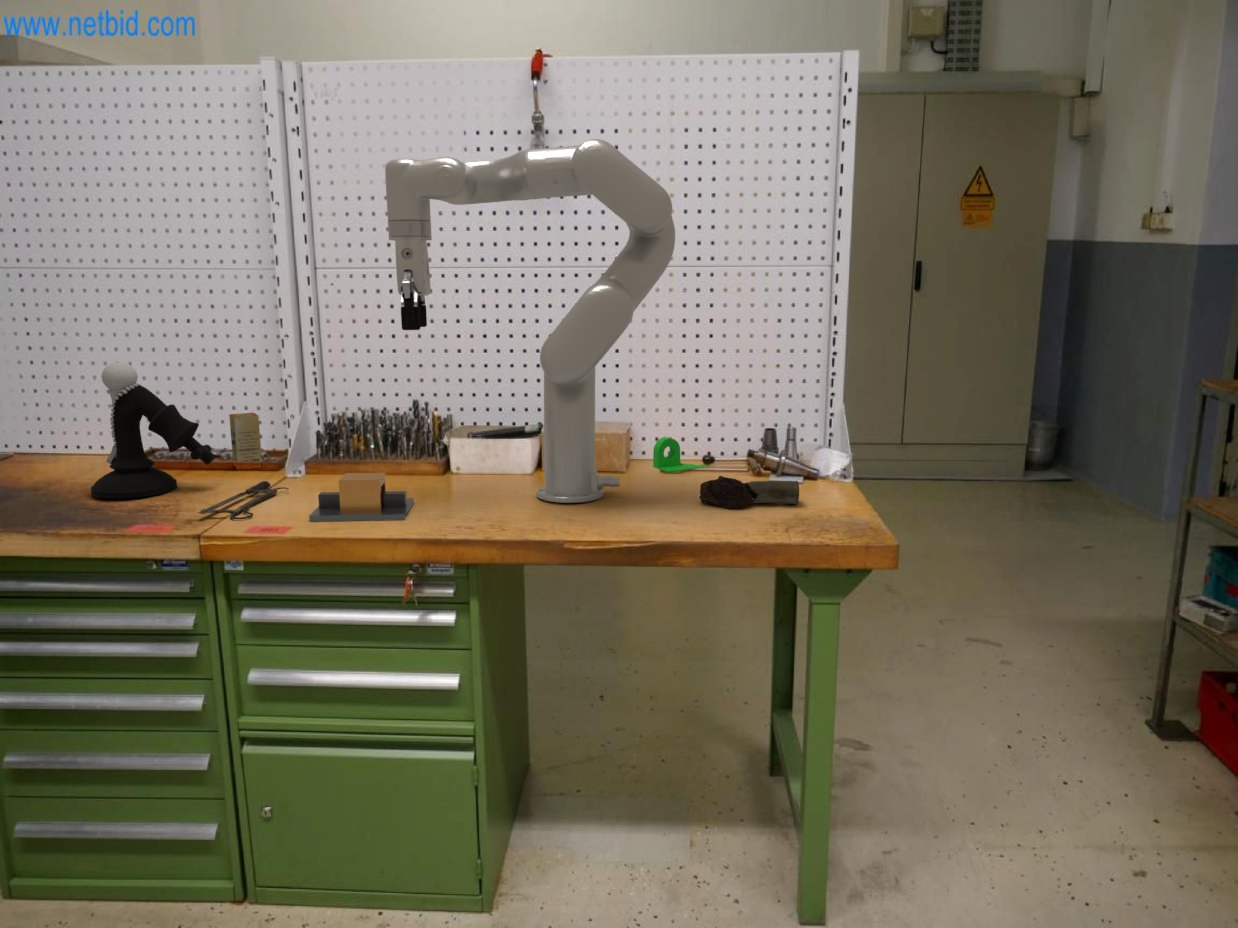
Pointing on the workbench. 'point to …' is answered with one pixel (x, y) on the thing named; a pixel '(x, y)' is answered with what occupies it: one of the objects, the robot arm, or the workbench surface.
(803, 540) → the workbench surface
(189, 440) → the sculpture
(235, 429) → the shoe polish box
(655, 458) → the mechanical part
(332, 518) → the rail
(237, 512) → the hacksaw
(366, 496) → the tan wooden block
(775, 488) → the dark elongated piece
